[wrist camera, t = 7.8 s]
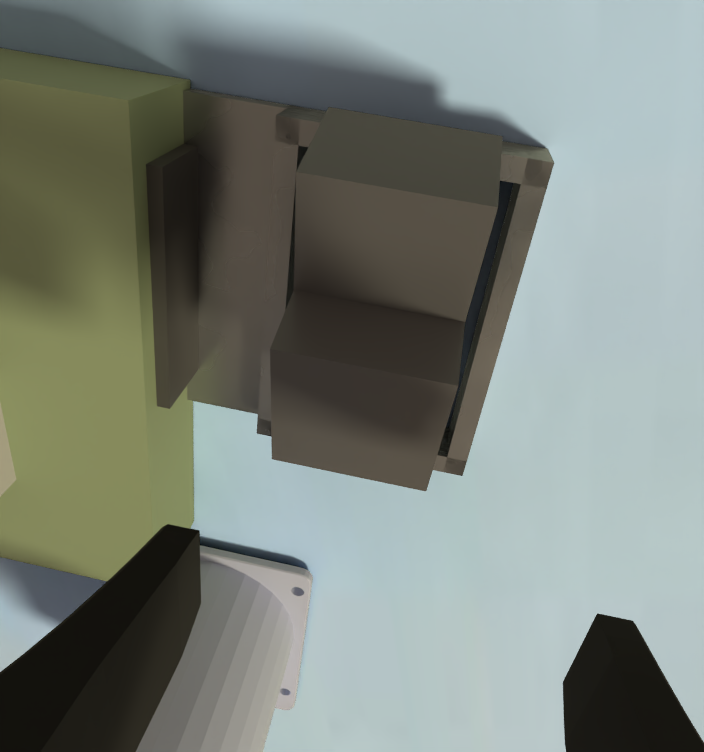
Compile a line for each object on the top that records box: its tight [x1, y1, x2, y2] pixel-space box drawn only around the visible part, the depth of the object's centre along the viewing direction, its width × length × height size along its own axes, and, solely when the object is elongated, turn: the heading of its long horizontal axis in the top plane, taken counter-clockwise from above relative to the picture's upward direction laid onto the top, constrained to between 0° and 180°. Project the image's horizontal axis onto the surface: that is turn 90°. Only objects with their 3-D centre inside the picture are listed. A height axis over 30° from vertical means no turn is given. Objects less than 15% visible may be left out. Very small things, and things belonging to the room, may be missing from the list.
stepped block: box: [270, 107, 503, 491], centre depth 15 cm, size 7×4×5 cm, turn 172°
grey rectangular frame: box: [183, 88, 554, 476], centre depth 18 cm, size 10×9×2 cm
